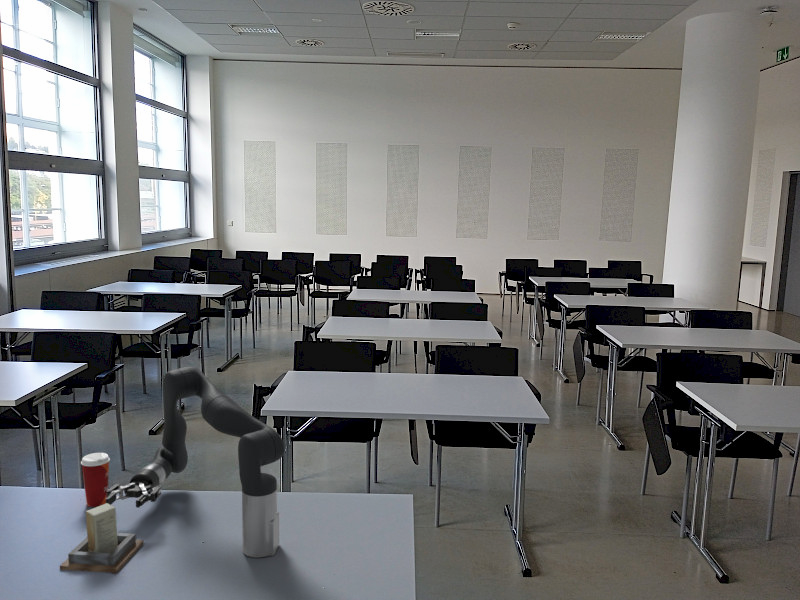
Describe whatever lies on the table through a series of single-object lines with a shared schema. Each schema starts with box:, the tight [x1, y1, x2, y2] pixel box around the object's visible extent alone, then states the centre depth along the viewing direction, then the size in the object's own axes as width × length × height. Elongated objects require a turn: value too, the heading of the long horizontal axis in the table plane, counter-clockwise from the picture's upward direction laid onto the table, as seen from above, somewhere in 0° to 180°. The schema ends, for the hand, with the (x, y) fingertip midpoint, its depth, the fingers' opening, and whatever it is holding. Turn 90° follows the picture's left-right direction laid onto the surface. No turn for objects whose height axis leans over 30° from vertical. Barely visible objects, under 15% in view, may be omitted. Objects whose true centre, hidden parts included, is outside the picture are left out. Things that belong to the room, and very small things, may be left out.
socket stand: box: [59, 532, 145, 574], centre depth 176 cm, size 15×15×4 cm
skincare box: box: [85, 503, 118, 553], centre depth 176 cm, size 6×4×12 cm
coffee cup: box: [80, 452, 111, 508], centre depth 206 cm, size 8×8×15 cm
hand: (122, 503), depth 186 cm, fingers open, 8 cm apart
